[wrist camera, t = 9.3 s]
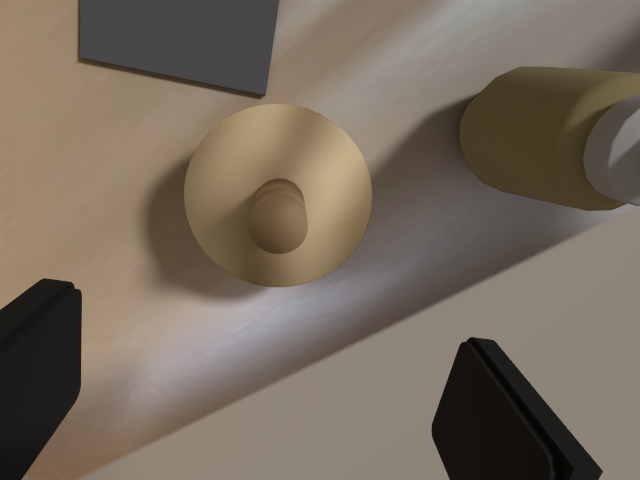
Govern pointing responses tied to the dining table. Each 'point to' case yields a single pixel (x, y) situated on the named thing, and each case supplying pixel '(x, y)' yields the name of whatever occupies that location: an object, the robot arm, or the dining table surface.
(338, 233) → the lid
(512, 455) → the robot arm
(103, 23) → the mat
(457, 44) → the dining table surface
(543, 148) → the squeeze bottle
